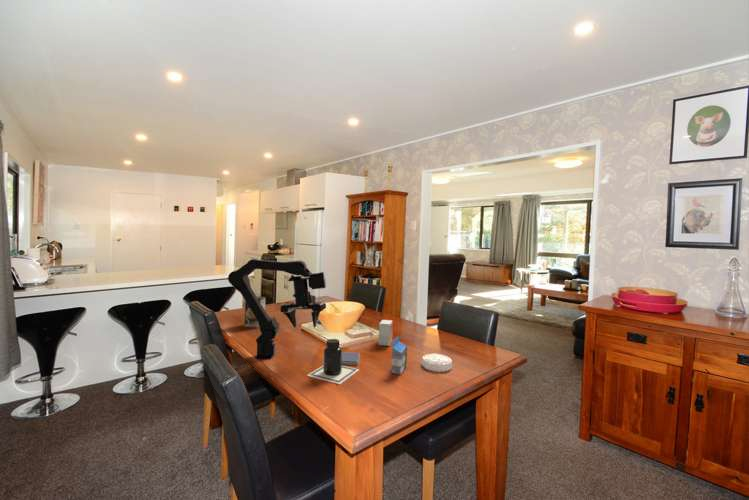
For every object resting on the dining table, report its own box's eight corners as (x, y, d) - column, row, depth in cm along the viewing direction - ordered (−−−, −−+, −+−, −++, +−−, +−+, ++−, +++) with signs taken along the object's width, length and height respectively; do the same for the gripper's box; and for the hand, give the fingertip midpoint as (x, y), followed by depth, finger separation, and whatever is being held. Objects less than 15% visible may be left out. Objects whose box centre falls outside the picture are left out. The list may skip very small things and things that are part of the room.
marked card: (307, 375, 119) (307, 374, 119) (328, 363, 132) (328, 361, 132) (339, 384, 113) (339, 383, 113) (359, 370, 126) (359, 369, 126)
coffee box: (244, 326, 179) (244, 297, 179) (250, 323, 186) (250, 295, 185) (259, 328, 178) (260, 298, 177) (265, 324, 184) (265, 296, 183)
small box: (389, 346, 155) (390, 324, 154) (378, 345, 156) (379, 323, 156) (392, 341, 163) (393, 320, 162) (381, 340, 164) (382, 319, 163)
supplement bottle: (333, 367, 127) (334, 336, 127) (345, 372, 123) (346, 340, 122) (319, 372, 122) (320, 340, 122) (331, 377, 118) (332, 345, 117)
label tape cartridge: (400, 375, 123) (401, 342, 122) (390, 373, 124) (391, 341, 124) (406, 366, 131) (407, 336, 131) (397, 365, 132) (398, 335, 132)
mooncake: (429, 373, 126) (429, 364, 126) (417, 361, 137) (417, 353, 137) (457, 371, 129) (457, 362, 129) (443, 359, 141) (443, 351, 140)
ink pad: (330, 364, 131) (330, 360, 131) (334, 354, 142) (335, 351, 142) (358, 365, 131) (358, 362, 131) (360, 355, 142) (360, 352, 142)
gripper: (329, 286, 143) (332, 321, 143) (291, 288, 148) (294, 322, 148) (318, 291, 132) (322, 329, 133) (277, 292, 137) (281, 329, 138)
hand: (305, 327), depth 138 cm, fingers open, 9 cm apart
